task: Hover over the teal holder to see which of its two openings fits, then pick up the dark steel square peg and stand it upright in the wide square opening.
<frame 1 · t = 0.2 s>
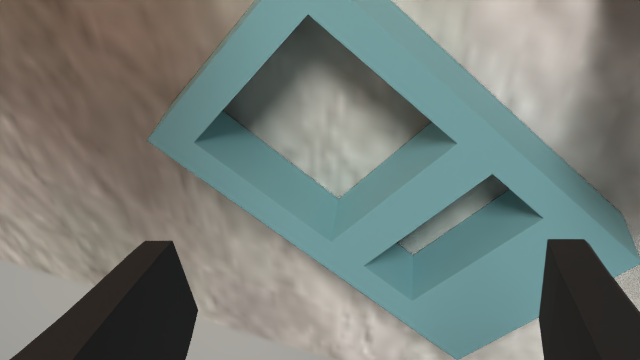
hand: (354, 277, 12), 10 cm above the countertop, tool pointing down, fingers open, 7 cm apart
holder: (398, 159, 22), on the countertop
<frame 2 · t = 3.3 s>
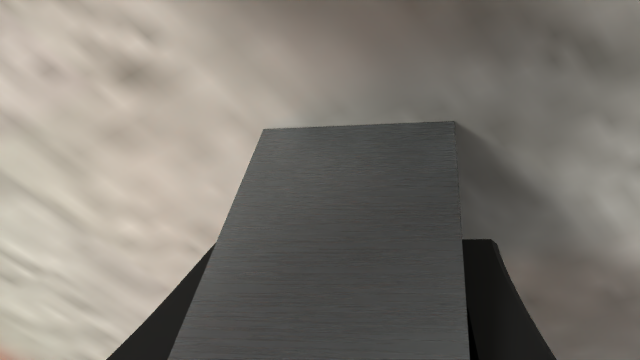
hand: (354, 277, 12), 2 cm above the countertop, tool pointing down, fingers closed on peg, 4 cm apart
peg: (364, 200, 14), on the countertop, touching gripper
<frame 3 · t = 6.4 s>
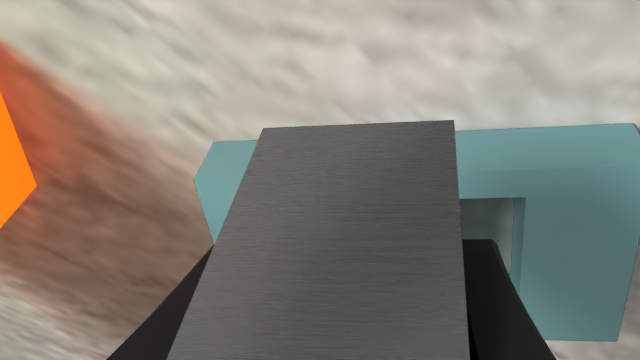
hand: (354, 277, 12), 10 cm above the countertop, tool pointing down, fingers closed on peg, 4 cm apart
holder: (414, 220, 24), on the countertop
peg: (364, 199, 14), point 8 cm above the countertop, touching gripper
when the fingers open (4 cm above the countertop, at t = 9.4 s): peg drops 2 cm, resting in holder.
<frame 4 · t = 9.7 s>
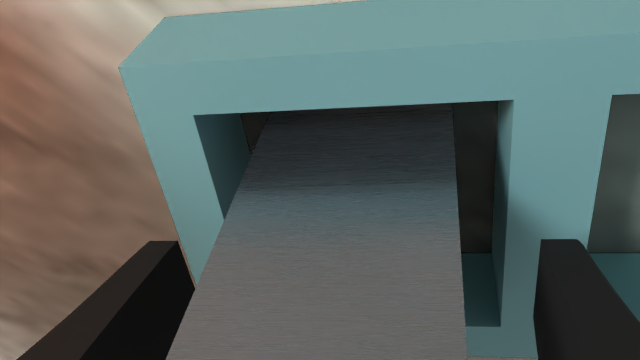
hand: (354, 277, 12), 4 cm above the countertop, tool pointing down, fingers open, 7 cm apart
holder: (508, 159, 14), on the countertop
peg: (369, 162, 15), resting in holder
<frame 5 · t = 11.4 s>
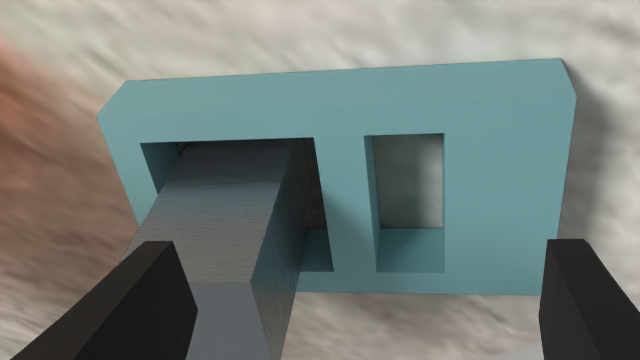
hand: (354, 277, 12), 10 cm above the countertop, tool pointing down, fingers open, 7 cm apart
holder: (340, 168, 23), on the countertop
peg: (257, 169, 23), resting in holder
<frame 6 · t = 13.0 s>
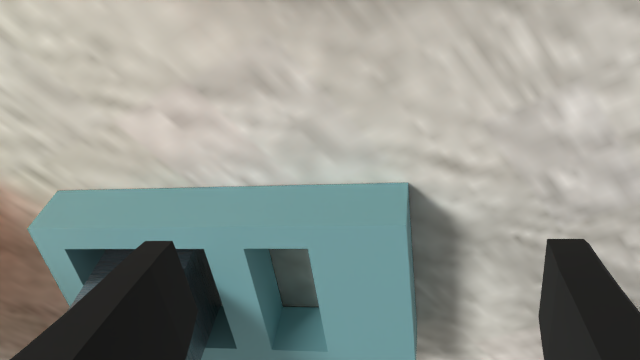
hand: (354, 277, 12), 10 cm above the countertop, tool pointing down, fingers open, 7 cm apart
holder: (243, 260, 27), on the countertop
peg: (174, 259, 27), resting in holder
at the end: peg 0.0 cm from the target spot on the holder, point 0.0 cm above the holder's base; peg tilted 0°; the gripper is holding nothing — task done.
